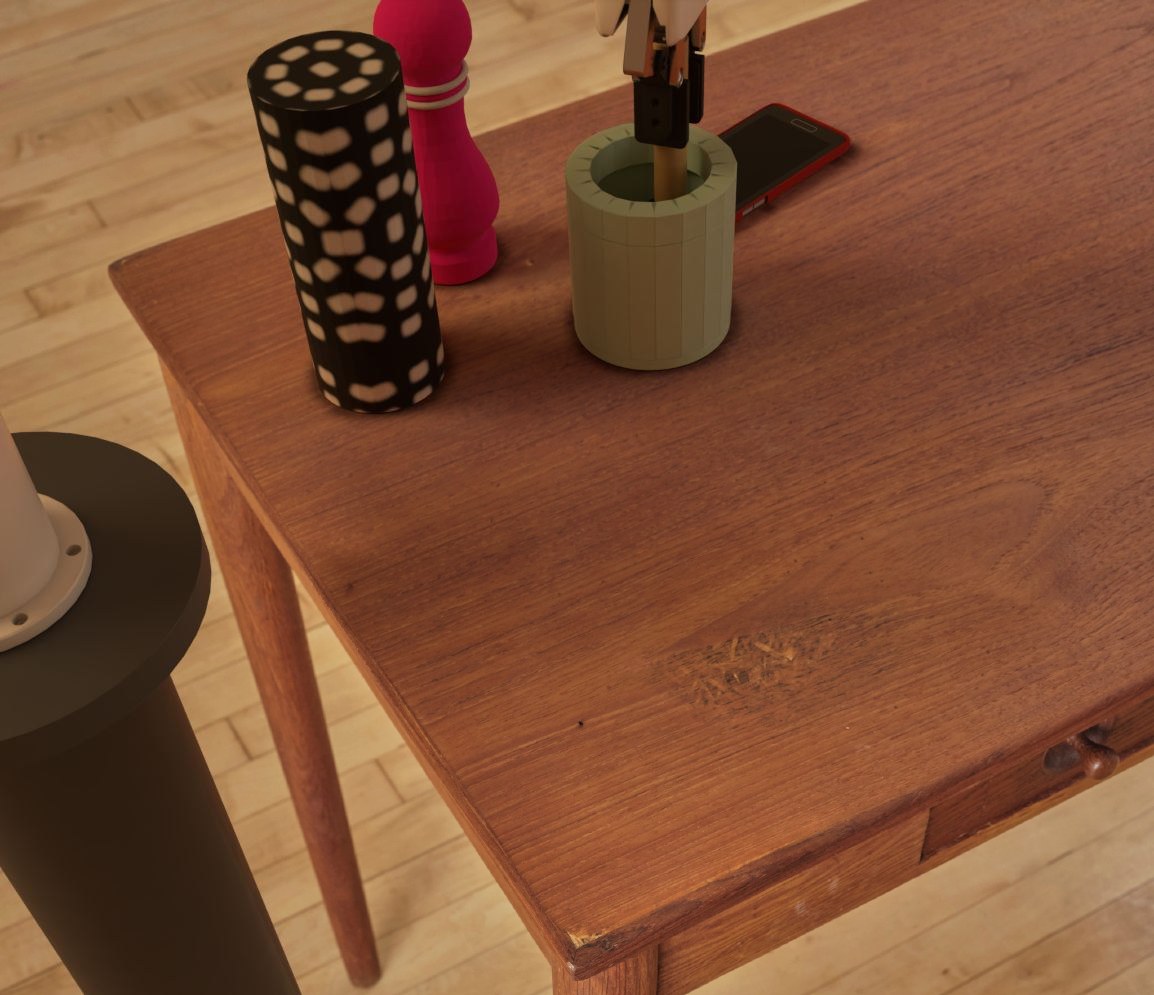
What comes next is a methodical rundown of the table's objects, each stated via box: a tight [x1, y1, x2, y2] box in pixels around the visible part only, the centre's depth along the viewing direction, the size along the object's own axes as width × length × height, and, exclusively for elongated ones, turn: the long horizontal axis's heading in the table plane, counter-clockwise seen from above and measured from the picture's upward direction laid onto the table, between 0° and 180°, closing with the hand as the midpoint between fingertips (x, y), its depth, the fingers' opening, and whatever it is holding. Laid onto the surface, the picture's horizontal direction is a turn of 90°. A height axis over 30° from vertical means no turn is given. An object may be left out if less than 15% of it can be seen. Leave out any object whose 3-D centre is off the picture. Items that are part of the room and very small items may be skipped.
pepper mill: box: [372, 0, 501, 286], centre depth 95 cm, size 7×7×20 cm
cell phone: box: [716, 102, 851, 224], centre depth 107 cm, size 8×15×1 cm, turn 134°
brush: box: [647, 35, 689, 202], centre depth 90 cm, size 4×4×16 cm
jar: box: [564, 122, 737, 371], centre depth 94 cm, size 10×10×11 cm
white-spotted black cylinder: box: [246, 29, 446, 414], centre depth 88 cm, size 8×8×20 cm
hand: (669, 128), depth 88 cm, fingers closed on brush, 2 cm apart
